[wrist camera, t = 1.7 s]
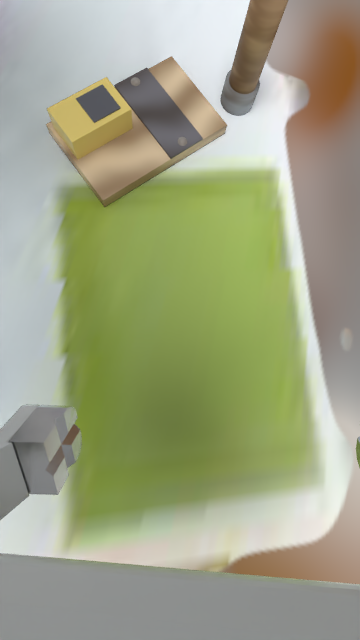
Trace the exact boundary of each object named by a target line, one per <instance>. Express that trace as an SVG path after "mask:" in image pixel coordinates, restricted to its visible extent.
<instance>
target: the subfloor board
mask: <svg viewBox="0 0 360 640" xmlns="http://www.w3.org/2000/svg"><path fill="white" fill-rule="evenodd" d="M115 89H116V90H117V91H118V93H119V94H120V95H121V96H122V98H123V99H124V100H125V102H126V103H127V104H128V105H129V107H130V108H131V110H132V126H133V129H131V130H129V131H127V132H126V133H124V134H122V135H120V136H119V137H117V138H115V139H113V140H112V141H110V142H108V143H106V144H105V145H103V146H101V147H99V148H98V149H96V150H94V151H92V152H91V153H89V154H87V155H85V156H84V157H82V158H80V159H79V160H77V158H76V157H75V156H74V154H73V153H72V152H71V150H70V149H69V148H68V146H67V145H66V144H65V142H64V141H63V140H62V138H61V137H60V136H59V134H58V133H57V132H56V130H55V129H54V127H53V124H52V121H51V122H49V123H47V124H46V125H47V128H48V130H49V133H50V134H51V136H52V137H53V138H54V140H55V141H56V142H57V144H58V145H59V146H60V148H61V149H62V150H63V152H64V153H65V154H66V156H67V157H68V159H69V160H70V161H71V163H72V164H73V165H74V167H75V168H76V169H77V171H78V172H79V173H80V175H81V176H82V177H83V179H84V180H85V181H86V183H87V184H88V185H89V187H90V188H91V189H92V191H93V192H94V193H95V195H96V196H97V197H98V199H99V200H100V201H101V203H102V204H103V205H104V207H106V206H107V205H109V204H110V203H112V202H114V201H115V200H117V199H119V198H120V197H122V196H123V195H125V194H127V193H128V192H130V191H132V190H133V189H135V188H136V187H138V186H140V185H141V184H143V183H145V182H146V181H148V180H149V179H151V178H153V177H154V176H156V175H158V174H159V173H161V172H163V171H164V170H166V169H167V168H169V167H171V166H172V165H174V164H176V163H177V162H179V161H180V160H182V159H184V158H185V157H187V156H189V155H190V154H192V153H193V152H195V151H197V150H198V149H200V148H202V147H203V146H205V145H206V144H208V143H210V142H211V141H213V140H215V139H216V138H218V137H219V136H221V135H223V134H224V133H225V130H226V127H227V124H226V123H225V122H224V121H223V119H222V118H221V117H220V116H219V114H218V113H217V112H216V111H215V109H214V108H213V107H212V106H211V104H210V103H209V102H208V101H207V100H206V98H205V97H204V96H203V95H202V93H201V92H200V91H199V90H198V88H197V87H196V86H195V85H194V83H193V82H192V81H191V80H190V78H189V77H188V76H187V75H186V73H185V72H184V71H183V70H182V69H181V67H180V66H179V65H178V64H177V62H176V61H175V60H174V59H173V57H172V56H171V57H170V58H168V59H166V60H164V61H162V62H160V63H159V64H157V65H155V66H153V67H151V68H149V69H148V68H145V69H143V70H142V71H140V72H138V73H136V74H134V75H132V76H130V77H129V78H127V79H125V80H123V81H121V82H119V83H117V84H116V85H115Z"/></svg>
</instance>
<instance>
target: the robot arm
mask: <svg viewBox="0 0 360 640" xmlns="http://www.w3.org/2000/svg"><path fill="white" fill-rule="evenodd" d="M76 419H77V414H76V410H75V408H73V407H72V406H54V405H24V406H21V407H20V408H19V410H18V411H17V412H16V413H15V414H14V415H13V416H12V417H11V418H10V419H9V421H8V422H7V423H6V424H5V425H4V426H3V427H2V428H1V429H0V520H1V519H2V518H3V517H5V516H6V515H7V514H8V513H9V512H10V511H12V510H13V509H14V508H15V507H16V506H18V505H19V504H20V503H21V502H22V501H23V500H25V499H26V498H27V497H28V496H29V494H52V495H58V494H59V492H60V490H61V489H62V487H63V485H64V483H65V481H66V479H67V477H68V475H69V473H68V469H67V468H68V467H69V466H71V465H72V464H74V463H75V462H76V460H77V458H78V456H79V454H80V449H81V445H82V436H81V431H80V429H79V428H78V427H77V426H76V425H75V424H74V423H75V421H76ZM356 453H357V460H358V464H359V467H360V437H358V439H357V445H356ZM0 640H360V585H359V584H346V583H336V582H324V581H312V580H301V579H290V578H278V577H267V576H255V575H244V574H231V573H221V572H210V571H198V570H187V569H176V568H165V567H153V566H142V565H131V564H119V563H108V562H96V561H85V560H74V559H62V558H51V557H39V556H28V555H17V554H5V553H0Z"/></svg>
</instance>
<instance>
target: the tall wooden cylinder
mask: <svg viewBox="0 0 360 640" xmlns="http://www.w3.org/2000/svg"><path fill="white" fill-rule="evenodd" d="M287 2H288V0H250V3H249V7H248V11H247V14H246V18H245V22H244V25H243V29H242V33H241V36H240V40H239V44H238V47H237V51H236V55H235V59H234V62H233V66H232V70H230V71H229V72H228V74H227V76H226V80H225V84H224V87H223V91H222V95H221V104H222V106H223V108H224V109H225V110H226V111H227V112H228V113H230V114H232V115H238V116H239V115H244V114H246V113H248V112H249V111H250V109H251V107H252V105H253V102H254V99H255V97H256V94H257V92H258V89H259V86H260V83H259V77H260V75H261V72H262V69H263V67H264V64H265V61H266V59H267V56H268V53H269V51H270V48H271V45H272V43H273V40H274V37H275V35H276V32H277V29H278V27H279V24H280V21H281V18H282V16H283V13H284V10H285V8H286V5H287Z"/></svg>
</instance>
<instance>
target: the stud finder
mask: <svg viewBox="0 0 360 640" xmlns="http://www.w3.org/2000/svg"><path fill="white" fill-rule="evenodd" d="M47 111H48V113H49V116H50V119H51V121H52V124H53V127H54V129H55V130H56V132H57V133H58V134H59V136H60V137H61V138H62V140H63V141H64V142H65V144H66V145H67V146H68V148H69V149H70V150H71V152H72V153H73V154H74V156H75V157H76V158H77V160H79V159H80V158H82V157H84V156H85V155H87V154H89V153H91V152H92V151H94V150H96V149H98V148H99V147H101V146H103V145H105V144H106V143H108V142H110V141H112V140H113V139H115V138H117V137H119V136H120V135H122V134H124V133H126V132H127V131H129V130H131V129H133V126H132V110H131V108H130V107H129V105H128V104H127V103H126V102H125V100H124V99H123V98H122V96H121V95H120V94H119V93H118V91H117V90H116V89H115V87H114V86H113V85H112V84H111V82H110V81H109V80H108V78H107V77H106V78H104V79H102V80H100V81H98V82H96V83H94V84H92V85H90V86H89V87H87V88H85V89H83V90H81V91H79V92H77V93H75V94H73V95H72V96H70V97H68V98H66V99H64V100H62V101H60V102H58V103H57V104H55V105H53V106H51V107H49V108H47Z"/></svg>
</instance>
